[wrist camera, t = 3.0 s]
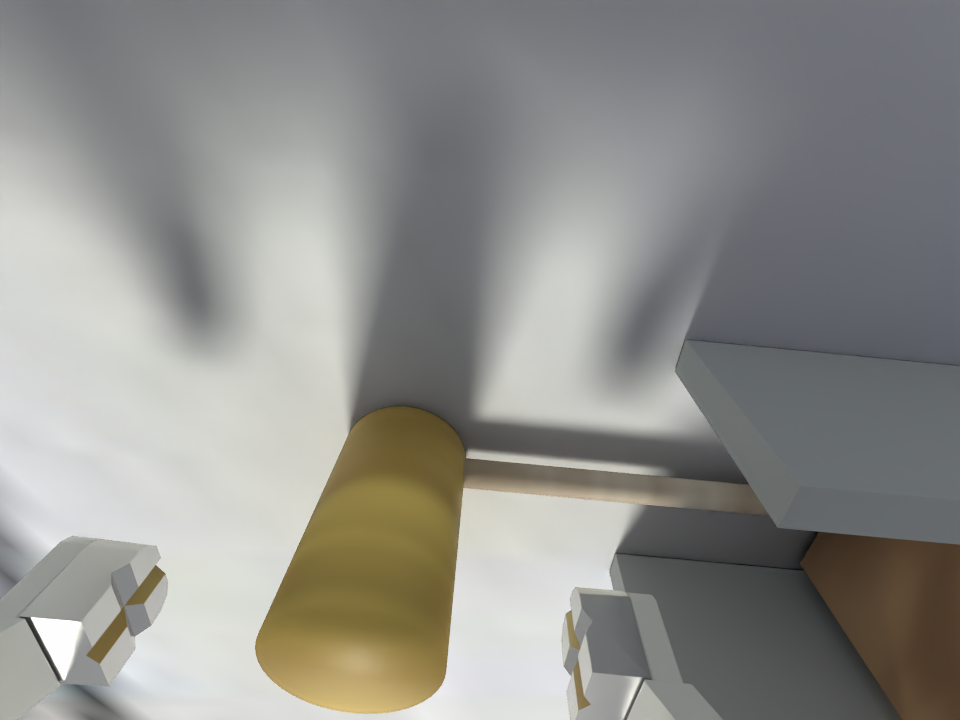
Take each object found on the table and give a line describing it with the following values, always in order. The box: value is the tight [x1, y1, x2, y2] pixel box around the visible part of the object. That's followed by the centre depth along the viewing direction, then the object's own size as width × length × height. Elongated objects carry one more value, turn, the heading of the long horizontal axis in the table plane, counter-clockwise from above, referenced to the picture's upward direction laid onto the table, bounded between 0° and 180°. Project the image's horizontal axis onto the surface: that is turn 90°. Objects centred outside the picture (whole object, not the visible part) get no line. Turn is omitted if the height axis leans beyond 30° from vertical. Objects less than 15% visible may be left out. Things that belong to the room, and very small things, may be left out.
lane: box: [609, 340, 960, 720], centre depth 10 cm, size 8×12×4 cm, turn 85°
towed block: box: [255, 406, 960, 720], centre depth 10 cm, size 5×18×5 cm, turn 85°
